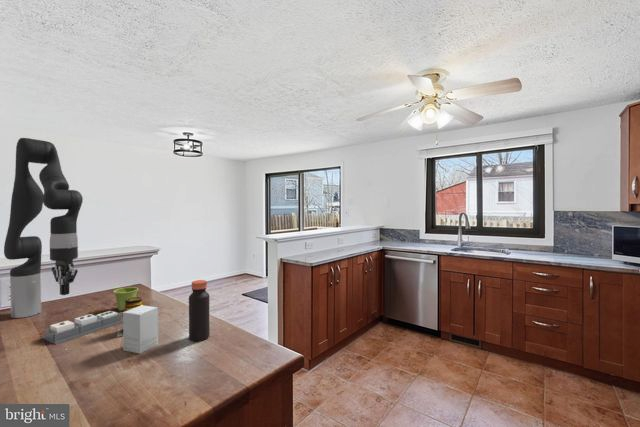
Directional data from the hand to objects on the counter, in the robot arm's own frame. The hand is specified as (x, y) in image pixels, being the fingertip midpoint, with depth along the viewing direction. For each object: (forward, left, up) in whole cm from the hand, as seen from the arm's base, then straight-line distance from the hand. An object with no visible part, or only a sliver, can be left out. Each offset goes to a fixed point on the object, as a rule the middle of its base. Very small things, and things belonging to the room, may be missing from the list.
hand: (64, 294), depth 105 cm
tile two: (0, +6, -13) cm, 15 cm away
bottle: (+43, +22, -15) cm, 50 cm away
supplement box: (+32, +8, -15) cm, 36 cm away
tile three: (0, +14, -14) cm, 20 cm away
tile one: (0, -1, -13) cm, 13 cm away
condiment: (+16, +14, -15) cm, 26 cm away
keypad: (0, +6, -15) cm, 16 cm away
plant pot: (-10, +27, -15) cm, 32 cm away
